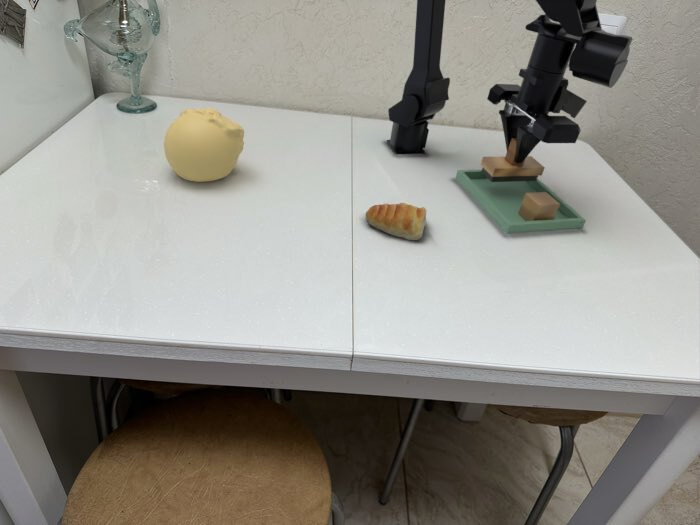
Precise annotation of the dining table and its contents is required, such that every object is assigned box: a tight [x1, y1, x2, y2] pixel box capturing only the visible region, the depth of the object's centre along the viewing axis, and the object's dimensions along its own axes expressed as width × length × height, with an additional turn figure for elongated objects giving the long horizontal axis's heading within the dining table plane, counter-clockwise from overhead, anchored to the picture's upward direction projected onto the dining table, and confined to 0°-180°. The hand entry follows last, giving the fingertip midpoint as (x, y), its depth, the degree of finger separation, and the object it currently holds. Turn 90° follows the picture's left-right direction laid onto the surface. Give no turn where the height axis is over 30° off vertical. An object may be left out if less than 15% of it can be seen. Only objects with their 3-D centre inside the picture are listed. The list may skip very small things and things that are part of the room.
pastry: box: [365, 202, 427, 241], centre depth 76 cm, size 9×7×4 cm
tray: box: [455, 169, 586, 234], centre depth 86 cm, size 15×19×2 cm
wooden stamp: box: [480, 138, 546, 182], centre depth 86 cm, size 10×4×7 cm, turn 105°
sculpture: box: [163, 107, 245, 183], centre depth 80 cm, size 12×12×11 cm
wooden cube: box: [518, 192, 560, 221], centre depth 81 cm, size 4×4×4 cm
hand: (514, 159), depth 86 cm, fingers closed on wooden stamp, 2 cm apart
